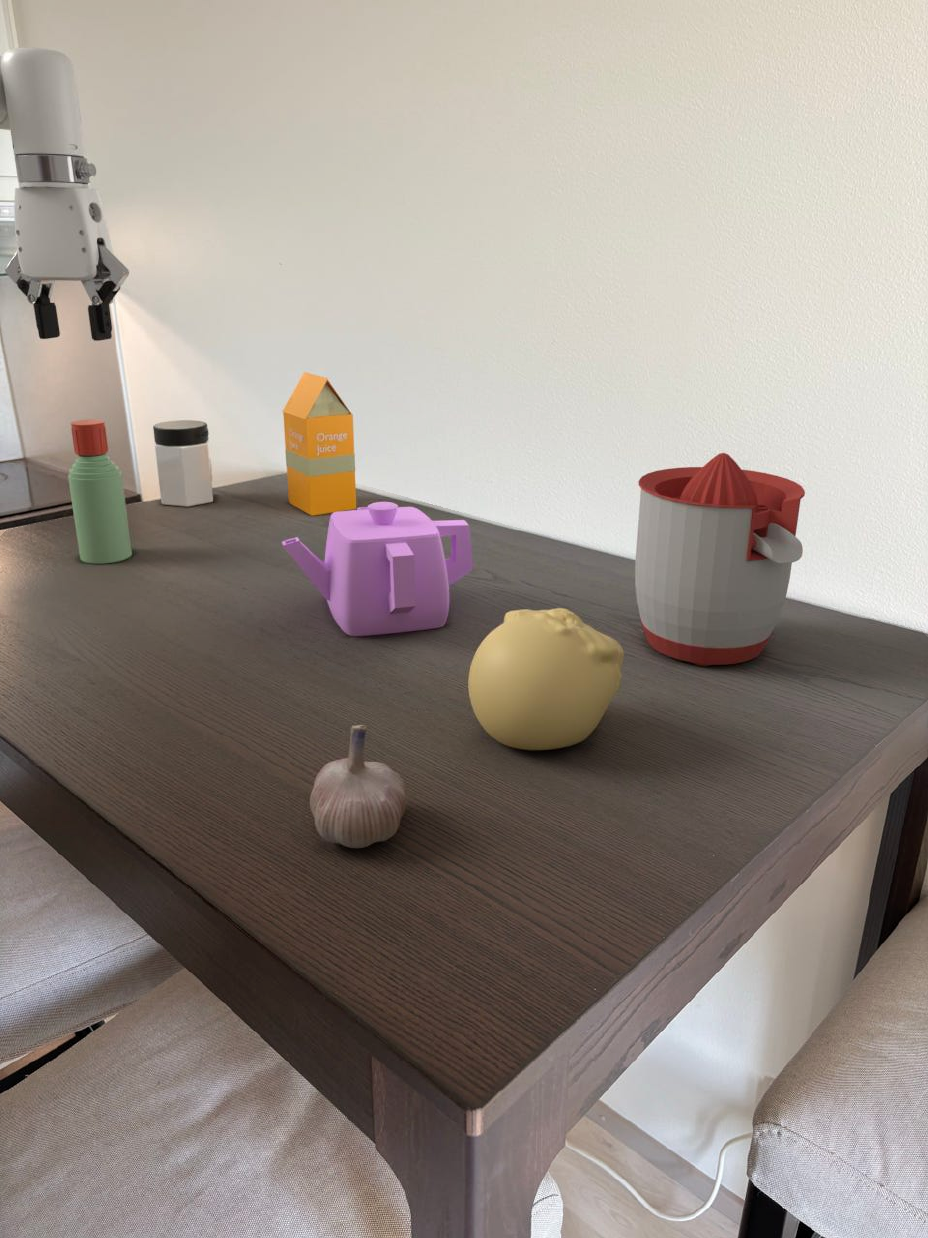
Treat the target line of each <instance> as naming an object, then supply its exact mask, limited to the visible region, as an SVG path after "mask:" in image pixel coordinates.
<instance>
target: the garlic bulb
mask: <svg viewBox="0 0 928 1238" xmlns="http://www.w3.org/2000/svg"><path fill="white" fill-rule="evenodd" d="M366 733H367V726H366V725H365V724H358V725H352V726H351V727H350V737H349V747H348V757H344V758H342V759H337V760H333V761H330V762H327V763H326V764H325V765H324V766H322V768H321V769H320V770H319V771H318V773H317V774H316V776H315V778H314V783H313V788H312V790H311V793H310V799H309V807H310V811H311V813H312V815H313V817H314V825H315V828H316V831H317V832H318V834H319V836H320V837H321V838H322V839H323V840H324V841H326V842H328V843H330V844H340V845H342V846H343V847H346V848H350V849H363V848H368V847H369V846H372V844H375V843H379V842H386V841H387V840H389V839H391V838H392V837H393V836H394V835H395V834H396V833H397V831H398V829H399V827H400V824H401V819H402V818H403V816H404V814H405V812H406V809H407V788H406V783H405V781H404V780H403V778H402V777H401V775H400V774H399V773H398V772H396V771H395V770H393V769H392V768H391V767H390V766H388V765H387V764H385V763H383V762H378V761H366V760H365V741H366Z"/></svg>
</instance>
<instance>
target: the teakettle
mask: <svg viewBox="0 0 928 1238" xmlns="http://www.w3.org/2000/svg"><path fill="white" fill-rule="evenodd" d="M328 522H329V523H328V528H327V534H326V535H327V536H326V543H325V550H324V551H325V553H324V561H322V560H321V559H320V558H319V557H318V556H317V555H315V553H314V552H312V551H311V549H309V548H308V547H307V546H306V545H305V544H304V543H303V542H302V541H300V539H299V537H298V536H295V537H293V538H289V539H285V540H283V541H281V544H282V547H283V549H284V550H285V551H286V553H288V554H289V556H290V557H291V559H293V561H294V562H295V563H296V565H297V566H298V567H299V568H300V569H301V571H302V572H303V573H304V574H305V575H306V577H307V579H309V581H310V582H311V583H312V584H313V585H314V587H315V588H316V589H317V590H318V592H319V593H320V594H321V595H322V597H323V598H324V599H325V600H326V602H327V606H328V608H329V611H330V614H331V615H332V618H333V620H334V621H335V622H336V624H337V625H338V626H339V628H340V629H341V631H343V632H344V633H345V634H346V635H348V636H350V637H368V636H379V635H391V634H400V633H408V632H418V631H426V630H432V629H439V628H440V629H441V628H443V627H444V626H445V625H446V622H447V619H448V615H449V611H450V587H449V586H451V585H452V584H454V583H455V582H457V581H459V580H460V579H462V578H463V577H465V576H466V575H469V574H470V573H471V572H473V571H474V562H473V552H472V541H471V531H470V530H471V529H470V525H469V524H468V522H467V521H466V520H465V519H453V520H452V519H448V520H445V519H444V520H432V519H431V518H430V517H429V516H428V515H426V514H425V513H424V512H423V511H422V510H420V509H418V508H417V507H414V506H399V505H398V504H397V503H394V502H390V501H376V502H372V503H370V504H368V505H367V506H363V507H356V509H352V510H345V511H339V512H332V513H331V514H330V517H329V521H328ZM443 537H451V540H450V541H451V544H450V545H451V548H450V550H451V551H450V552H451V555H450V557H448V558H446V557H445V551H444V548H443V547H444V546H443V542H442V538H443Z"/></svg>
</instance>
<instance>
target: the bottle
mask: <svg viewBox="0 0 928 1238" xmlns="http://www.w3.org/2000/svg"><path fill="white" fill-rule="evenodd" d="M77 457H78V458H76V459H74V463H73V464H72V465H71V468H70V469H69V470H68V475H67V481H68V486H69V494H70V500H71V505H72V512H73V519H74V526H75V532H76V539H77V545H78V547H77V548H78V553H79V559H80V561H81V562H83V563H87V564H95V565H97V564H100V565H101V564H102V565H103V564H104V565H105V564H113V563H118V562H120V561H121V562H122V561H124V560H126V559H129V558H131V556H132V555H133V551H132V542H131V536H130V527H129V520H128V512H127V511H128V510H127V505H126V497H125V490H124V481H123V473H122V471H121V470H120V467H119V465H116V462H115V461H114V460H111V457H110V456H107V453H104V454H100V455H91V456H84V455H77Z"/></svg>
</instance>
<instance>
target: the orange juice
mask: <svg viewBox="0 0 928 1238" xmlns="http://www.w3.org/2000/svg"><path fill="white" fill-rule="evenodd" d="M282 414H283V429H284V444H285V450H284V451H285V463H286V464H285V465H286V475H287V476H286V477H287V490H288V491H287V493H288V503H289V504H290V505H292V506H293V507H295V508H297V509H299V510H300V511H302V512H305V513H306V514H308V515H310V516H318V515H324V514H325V515H326V514H332V513H334V512H340V511H351V510H357V491H356V458H355V457H356V454H355V438H354V437H355V436H354V435H355V434H354V415H353V413H352V412H351V411H350V410H349V408H348V407H347V405H346V404H345V402H344V401H343V399H342V398H341V397H340V395H339V394H338V392H337V391H336V390H335V388H334V387H333V385H332V384H331V382H330V381H329V378H328V377H324V376H320V375H316V374H313V373H309V372H307V371H306V372H305V371H303V373H302V374H301V377H300V379H299V380H298V382H297V384H296V385H295V387H294V390H293V391H292V393H291V395H290V397H289V398H288V400H287V402H286V403H285V405H284V408H283V409H282Z"/></svg>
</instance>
